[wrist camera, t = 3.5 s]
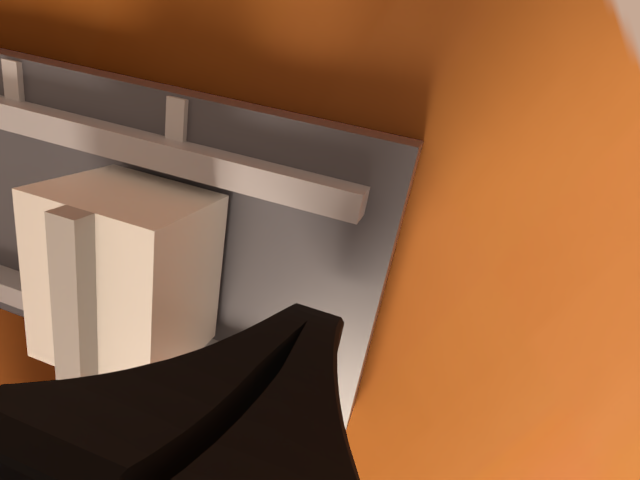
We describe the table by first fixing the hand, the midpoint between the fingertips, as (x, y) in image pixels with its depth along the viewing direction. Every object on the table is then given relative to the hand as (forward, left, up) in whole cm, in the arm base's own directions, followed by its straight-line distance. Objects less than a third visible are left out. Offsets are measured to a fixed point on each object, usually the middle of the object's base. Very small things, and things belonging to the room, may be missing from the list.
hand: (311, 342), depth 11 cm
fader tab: (0, +6, -2) cm, 6 cm away
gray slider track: (0, +12, -4) cm, 12 cm away
